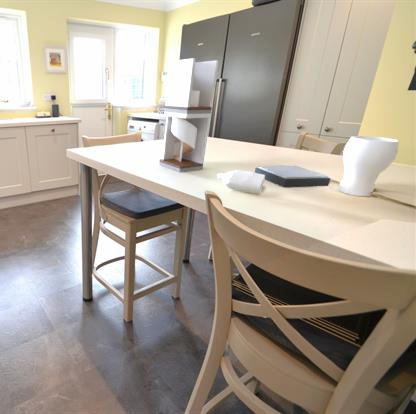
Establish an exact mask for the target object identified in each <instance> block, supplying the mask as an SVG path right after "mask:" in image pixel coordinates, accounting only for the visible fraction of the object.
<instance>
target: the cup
mask: <svg viewBox="0 0 416 414" xmlns="http://www.w3.org/2000/svg"><path fill="white" fill-rule="evenodd" d="M399 144H400V141H399V140H398V139H394V138H387V137H379V136H368V135H367V136H366V135H365V136H364V135H352V136H351V137H350V138H349V140H348V141H347V143H346V144H345V146H344V148H343V149H344V150H343V153H342V162H343V165H344V174H343V178H342V180H341V181H340V183H339V184H338V187H337V191H339V192H340V193H343V194H346V195H352V196H356V197H372V196H373V194H374V189H375V183H376V181H377V179H378V177H379V176H380V175H381V173H383V172H384V171H385V170H387V169H388V168H389V167H390V166H391V164H392V163H393V162H394V160H395V159H396V157H397V154H398V152H399Z"/></svg>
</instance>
